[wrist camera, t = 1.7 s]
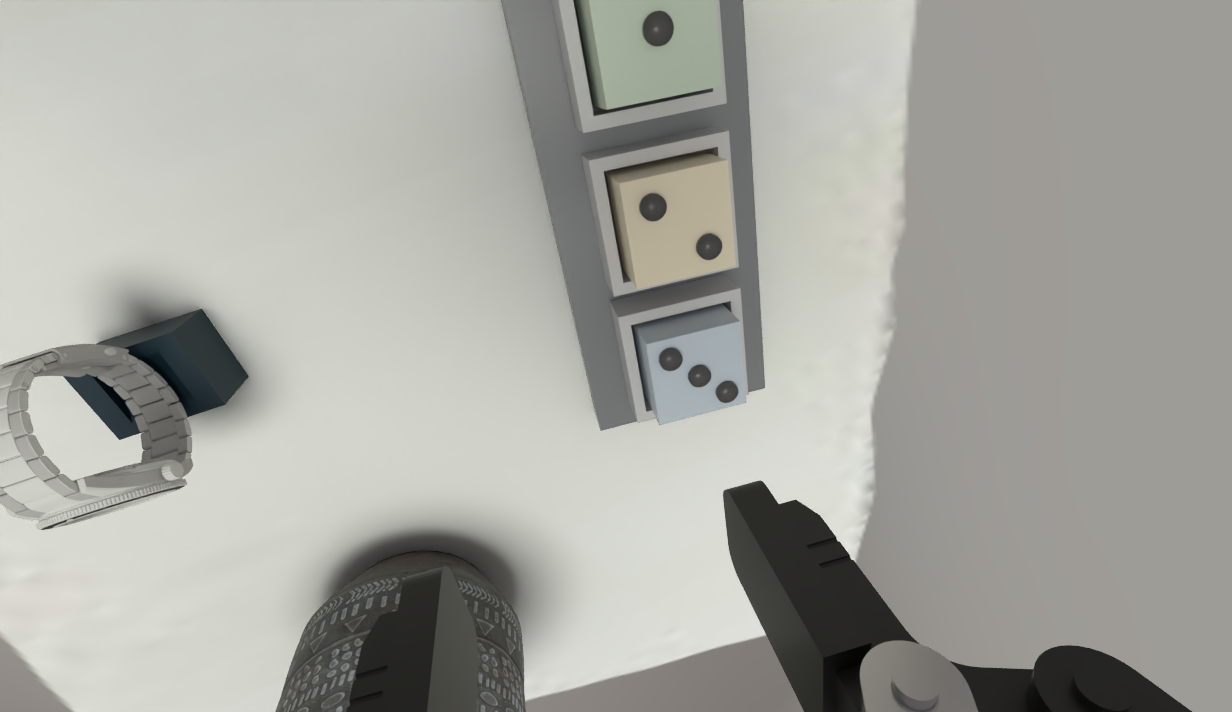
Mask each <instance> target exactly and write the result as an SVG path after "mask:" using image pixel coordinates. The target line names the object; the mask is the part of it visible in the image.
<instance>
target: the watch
mask: <svg viewBox="0 0 1232 712" xmlns="http://www.w3.org/2000/svg"><path fill="white" fill-rule="evenodd" d="M37 376H63V377H64V378H65V379H66V380H67V381H68V382H69V383H70V385H71V386H72V387H73V388H74V389H75V390H76V391H77V392H78V394H79V395H80V396H81V397H82V398H83V399H84V400H85V402H86V403H87V404H88V405H89V406H90V407H91V408H92V409H93V411H94V412H95V413H96V414H97V415H98V416H99V417H100V418H101V420H102V421H103V422H104V423H105V424H106V425H107V426H108V428H109V429H110V430H111V431H112V432H113V433H114V434H115V435H116V437H117V438H118V439H119V440H121V439H124V438H127V437H130V436H133V435H136V434H139V433H142V434H141V441H142V448H143V450H146V451H143V453H142V461H141V463H137V464H133V465H128V466H124V467H120V468H116V469H113V470H109V471H105V472H102V473H98V474H94V475H91V476H88V477H84V478H81V479H78V480H74V481H72V480H71V479H69V478H68V477H67V476H65V475H64V474H60V475H58V474H59V473H60V470H59V469H58V468H57V467H56V466H55V465H54V464H53V463H52V461H51V460H50V459H49V458H48V457H47V456H42V455H43V454H44V450H43V449H42V447H41V446H40V444H39V442H38V440H37V438H36V436H34V435H31V434H30V433H32V432H33V426H32V423H31V419H30V415H29V413H27V412H24V411H27V410H28V392H27V391H26V390H29V388H30V386H31V383H32V381H33V379H34V377H37ZM247 378H248V375H247V374H246V372H245V371H244V369H243V368H242V366H241V365H240V363H239V362H238V361H237V359H236V358H235V356H234V355H233V353H232V352H231V351H230V349H229V348H228V346H227V345H226V343H225V342H224V340H223V339H222V338H221V336H220V335H219V333H218V332H217V330H216V329H215V328H214V326H213V325H212V323H211V322H210V320H209V319H208V317H207V316H206V315H205V313H204V312H203V310H202V309H200V310H197V311H194V312H191V313H188V314H185V315H182V316H179V317H176V318H172V319H169V320H166V321H163V322H160V323H157V324H154V325H151V326H148V327H145V328H142V329H139V330H136V331H133V332H130V333H126V334H123V335H120V336H117V337H114V338H111V339H108V340H105V341H102V342H99V343H97V344H79V345H69V346H62V347H57V348H52V349H48V350H45V351H42V352H39V353H36V354H32V355H29V356H26V357H23V358H20V359H17V360H14V361H11V362H8V363H5V364H2V365H0V503H1V504H2V505H3V506H5V507H6V510H7V513H8V514H9V515H11V516H14V517H17V518H21V519H26V520H39V523H37V524H36V526H37V529H38V530H45V529H50V528H56V527H60V526H65V525H69V524H73V523H77V522H80V521H84V520H87V519H91V518H94V517H98V516H101V515H104V514H108V513H111V512H114V511H118V510H121V509H124V508H127V507H130V506H134V505H137V504H140V503H143V502H146V501H149V500H152V499H155V498H158V497H160V496H163V495H166V494H168V493H171V492H173V491H175V490H177V489H180V488H182V487H184V486H185V485H187V483H186V480H185V479H182V477H183V476H185V475H186V474H188V473H189V472H190V471H191V469H192V467H193V463H192V459H191V454H190V453H191V452H192V438H191V437H189V436H191V429H190V425H189V421H188V419H186V418H187V417H189V416H192V415H195V414H198V413H201V412H204V411H207V410H210V409H213V408H216V407H219V406H222V405H225V404H226V403H227V402H228V400H229V399H230V398H231V397H232V396H233V394H234V393H235V392H236V391H237V390H238V388H239V387H240V386H241V385H242V384H243V382H244V381H245V380H246V379H247ZM183 419H184V420H183ZM180 420H181V421H180ZM147 431H148V432H147ZM143 432H145V433H143ZM27 434H30V435H27ZM24 435H25V436H24ZM19 455H21V456H19ZM16 456H18V457H16ZM40 456H41V457H40ZM13 457H15V458H13ZM37 457H38V458H37ZM10 458H12V459H10ZM34 458H35V459H34ZM7 459H9V460H7ZM4 460H6V461H4ZM1 461H3V462H1Z"/></svg>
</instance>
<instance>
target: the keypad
mask: <svg viewBox="0 0 1232 712" xmlns="http://www.w3.org/2000/svg"><path fill="white" fill-rule="evenodd" d="M501 3H502V7H503V11H504V16H505V20H506V24H507V29H508V33H509V38H510V42H511V46H512V51H513V55H514V59H515V64H516V68H517V72H518V77H519V81H520V86H521V90H522V94H523V99H524V103H525V107H526V112H527V116H528V121H529V125H530V129H531V134H532V138H533V142H534V147H535V151H536V155H537V160H538V164H539V169H540V173H541V177H542V182H543V186H544V190H545V195H546V199H547V204H548V208H549V212H550V217H551V221H552V225H553V230H554V234H555V238H556V243H557V247H558V252H559V256H560V260H561V265H562V269H563V273H564V278H565V282H566V287H567V291H568V295H569V300H570V304H571V308H572V313H573V317H574V321H575V326H576V330H577V335H578V339H579V343H580V348H581V352H582V356H583V361H584V365H585V370H586V374H587V378H588V383H589V387H590V391H591V396H592V400H593V404H594V409H595V413H596V417H597V420H598V423H599V427H600V430H605V429H609V428H613V427H617V426H621V425H625V424H628V423H632V422H636V421H637V422H638V423H640V422H644V421H648V420H651V419H655V418H656V417H655V415H654V413H653V410H652V408H651V406H650V404H649V402H648V400H647V398H646V396H645V394H644V389H643V383H642V377H641V372H640V366H639V360H638V355H637V349H636V343H635V337H634V332H633V326H632V325H634V324H638V323H642V322H646V321H650V320H655V319H659V318H663V317H667V316H671V315H675V314H679V313H683V312H687V311H692V310H696V309H700V308H704V307H708V306H712V305H716V304H720V303H722V304H723V305H724V306H725V307H726V308H727V309H728V310H729V311H730V312H731V313H732V314H733V315H734V316H735V317H736V318H737V319H738V320H739V321H740V326H741V339H742V352H743V365H744V378H745V391H746V395H747V394H748V392H751V391H755V390H759V389H763V388H765V380H764V362H763V345H762V327H761V310H760V292H759V274H758V257H757V239H756V221H755V204H754V186H753V169H752V151H751V133H750V116H749V98H748V80H747V63H746V45H745V28H744V10H743V0H716V10H717V23H718V36H719V50H720V63H721V76H722V86H720V87H715V88H710V89H706V90H701V91H696V92H691V93H686V94H681V95H676V96H671V97H667V98H662V99H657V100H652V101H647V102H642V103H637V104H633V105H628V106H623V107H618V108H613V109H608V110H606V109H602V108H598V107H594V105H593V99H592V93H591V88H590V82H589V76H588V71H587V65H586V59H585V54H584V48H583V42H582V37H581V31H580V25H579V20H578V14H577V8H576V3H575V0H501ZM700 151H703V152H706V153H709V154H712V155H715V156H718V157H721V158H724V159H727V160H728V168H729V181H730V194H731V207H732V220H733V234H734V247H735V260H736V266H733V267H729V268H725V269H720V270H716V271H712V272H708V273H704V274H699V275H695V276H691V277H687V278H683V279H678V280H674V281H670V282H666V283H661V284H657V285H653V286H649V287H645V288H640V289H636V287H635V286H634V284H633V283H632V281H631V280H630V278H629V277H628V276H627V274H626V273H625V271H624V270H623V268H622V264H621V258H620V252H619V247H618V241H617V235H616V230H615V224H614V218H613V213H612V207H611V201H610V196H609V190H608V184H607V179H606V173H605V172H608V171H612V170H617V169H622V168H626V167H631V166H636V165H640V164H645V163H649V162H654V161H659V160H663V159H668V158H673V157H677V156H682V155H686V154H691V153H696V152H700Z"/></svg>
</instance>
